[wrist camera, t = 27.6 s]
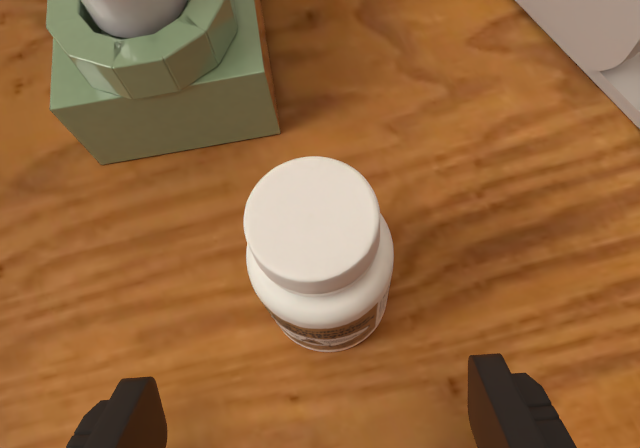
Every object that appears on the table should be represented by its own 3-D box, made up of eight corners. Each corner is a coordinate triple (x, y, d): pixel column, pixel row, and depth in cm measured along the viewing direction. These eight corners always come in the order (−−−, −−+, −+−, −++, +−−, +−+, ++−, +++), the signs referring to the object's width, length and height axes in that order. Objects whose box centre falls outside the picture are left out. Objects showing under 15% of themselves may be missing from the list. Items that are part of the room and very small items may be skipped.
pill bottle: (263, 346, 20) (207, 292, 13) (281, 236, 21) (241, 133, 14) (382, 361, 19) (393, 312, 12) (391, 247, 21) (406, 145, 14)
